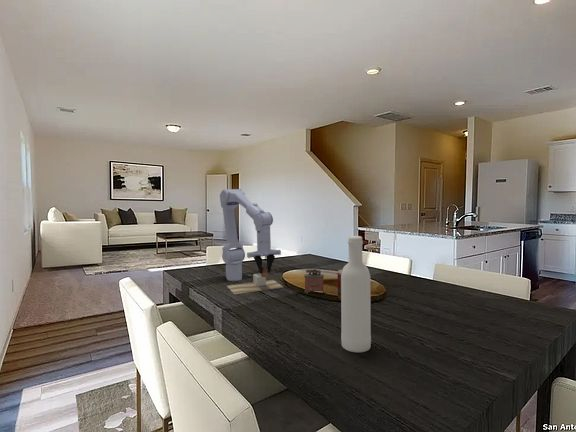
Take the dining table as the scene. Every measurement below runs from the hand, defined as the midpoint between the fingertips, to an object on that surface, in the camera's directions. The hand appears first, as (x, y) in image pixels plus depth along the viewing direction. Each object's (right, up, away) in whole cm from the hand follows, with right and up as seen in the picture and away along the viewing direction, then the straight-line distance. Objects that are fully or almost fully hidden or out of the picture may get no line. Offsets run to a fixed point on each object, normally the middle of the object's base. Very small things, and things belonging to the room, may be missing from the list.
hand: (264, 272), depth 142 cm
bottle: (+28, -11, -51) cm, 60 cm away
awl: (0, -2, 0) cm, 2 cm away
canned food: (+33, -8, -12) cm, 36 cm away
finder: (-3, -6, +7) cm, 10 cm away
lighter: (+21, -8, -3) cm, 23 cm away
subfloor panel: (-5, -8, +4) cm, 10 cm away
